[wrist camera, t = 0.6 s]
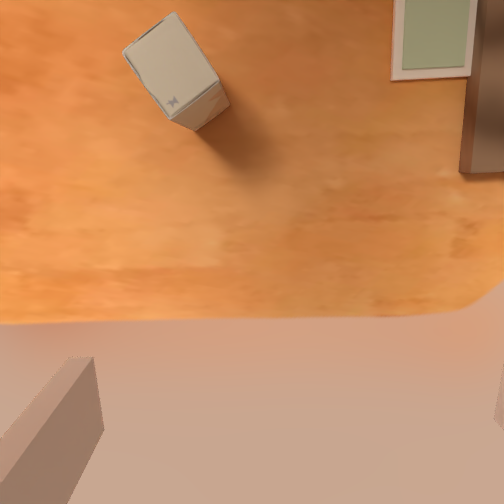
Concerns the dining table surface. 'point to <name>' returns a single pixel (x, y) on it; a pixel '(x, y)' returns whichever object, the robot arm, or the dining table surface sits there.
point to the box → (177, 73)
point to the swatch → (432, 39)
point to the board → (485, 94)
